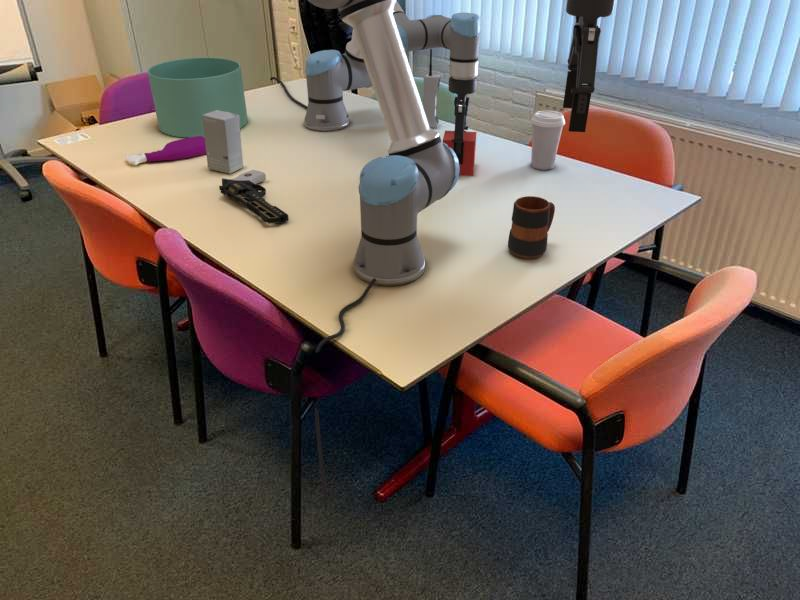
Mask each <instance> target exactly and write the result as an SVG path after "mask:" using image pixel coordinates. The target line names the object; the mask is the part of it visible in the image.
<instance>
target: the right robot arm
mask: <svg viewBox="0 0 800 600" xmlns="http://www.w3.org/2000/svg"><path fill="white" fill-rule="evenodd" d="M396 1H397V2H398V0H307V2H309V3H310V4H312V5H313V6H315V7H317V8H320V9H325V10H335V9H337V10H338V13H339V15H340V18H341V21H342V22H343V23H344V24H346V25H349V26H350V27H351V28H352V31H353V30H354V33H355V36H356V39H357V42H358V45H359V48H360V50H361V53H362V56H363V59H364V62H365V65H366V68H367V71H368V74H369V77H370V80H371V82H372V85H373V86H372V88H373V90H374V94H375V97H376V99H377V102H378V103H377V104H378V105H379V108H380V110H381V114H382V117H383V120H384V123H385V126H386V128H387V132H388V135H389V137H390V140H391V142H390V146H389V148H388V150H387V153H388V155H385V156H384V157H382V156H380V157H379V156H378V157H376V158H374V159H372V160H370V161H369V162H367V163H366V164H365V165H364V166H363V167H362V169H361V170H360V172H359V184H358V195H359V206H360V207H359V209H360V211H359V212H360V239H359V242H358V247H357V249H356V252H355V256H354V259H353V270H354V273H355V275H356V276H357V277H358V278H359V279H360V280H362V281H364V282H366V283H369V284H368V285H367V286H366V288H365V289H364V291H363V292H362V294H361V296H360V297H358V298H357V299H356V300H354V301H353V302H351V303H349V304H347V305H345V306H344V307H342V308H341V310H340V311H339V313H338V321H339V325H340V329H339V331H338V332H336V333H334V334H332V335H329V336H325V338H324V339H322V340H320V342H319V343H318V344H317V347H316V349H315V351H314V352H315V353H319V352H320V351H321V349H322V347H323V345H324V344H326V343H327V342H329V341H331V340H335V339H337V338H339V337H341V336H342V335H343V334H344V332H345V329H346V324H345V321H344V318H343V317H344V314H345V312H346V311H347V310H349V309H350V308H352V307H353V308H354V306H356V305H358V304H359V303H361V302H362V301H363V300H364V299H365V298H366V297H367V295H368V293H369V292H370V290H371V289H372V287H373V286H374V285H376V286H382V287H395V286H402V285H406V284H410V283H413V282H415V281H417V280H418V279H420V278H421V276H423V274H424V273H425V270H426V260H425V255H424V252H423V250H422V247H421V244H420V241H419V238H418V215H419V213H421V212H422V211H424V210H425V209H427V208H428V207H430V206H432V204H434V203H436V202H437V201H439V200H442V199H443V198H445V197H446V196H447V195H448V194H449V192H451V191H452V190H453V189H454V187H455V186H456V184H457V183H458V181H459V176H460V175H459V161H458V158H457V156H456V154H455V152H454V151H453V149H452V148H449V147H448V145H447V144H445V143H443V140H442V139H441V135H440V133H439V132H438V131H435V130H434V129H433V128H430V127H429V124H428V121H427V118H426V115H425V112H424V109H423V101H422V100H421V96H420V93H419V90H418V86H417V83H416V81H415V78H414V75H413V71H412V68H411V66H410V62H409V59H408V56H407V52H405V49H404V46H403V43H402V40H401V37H400V34H399V31H398V28H397V24H396V21H395V18H394V15H393V8H394V6H395V4H396ZM615 4H616V0H566V6H565V12H566V13H567V14H568V15H569V16H572V17H575V18H574V19H575V22H574V25H573V28H572V39H571V43H570V49H569V53H568V59H567V69H568V70H567V73H566V81H565V88H564V89H565V90H564V96H563V103H562V108H563V109H571V111H570V115H569V116H570V117H569V124H568V132H570V133H571V132H572V133H573V132H574V133H586V129H587V124H588V123H587V122H588V118H589V117H588V116H589V111H590V105H591V98H592V94H593V93H594V92H595V89H596V88H595V82H596V71H597V62H598V52H599V50H598V49H599V41H600V36H601V32H602V30H601V27H599V25H598V20H599V19H600V18H607V17H610V16H612V15H613V13H614V9H615ZM314 417H315V430H316V431H315V432H316V442H317V452H318V460H319V469H320V478H321V486H322V488H321V489H322V498H323V509H324V511H327V510H328V509H329V507H328V506H329V505H328V494H327V485H326V475H325V467H324V458H323V457H324V456H323V447H322V438H321V427H320V412H319V408H317V406H314Z"/></svg>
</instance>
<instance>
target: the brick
mask: <svg viewBox="0 0 800 600" xmlns="http://www.w3.org/2000/svg"><path fill="white" fill-rule="evenodd" d="M454 133H455V130H445V131H444V133H443V137H442V142H443V143H445V144H447V145H448V147H449V148H452V149H453V151H454V142H452V139H454ZM460 138H461V137H460ZM463 139H464V149H463V164H459V176H466V177H474V172H475V166H476V165H475V161H476V146H477V131H467V130H464V138H463Z"/></svg>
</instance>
